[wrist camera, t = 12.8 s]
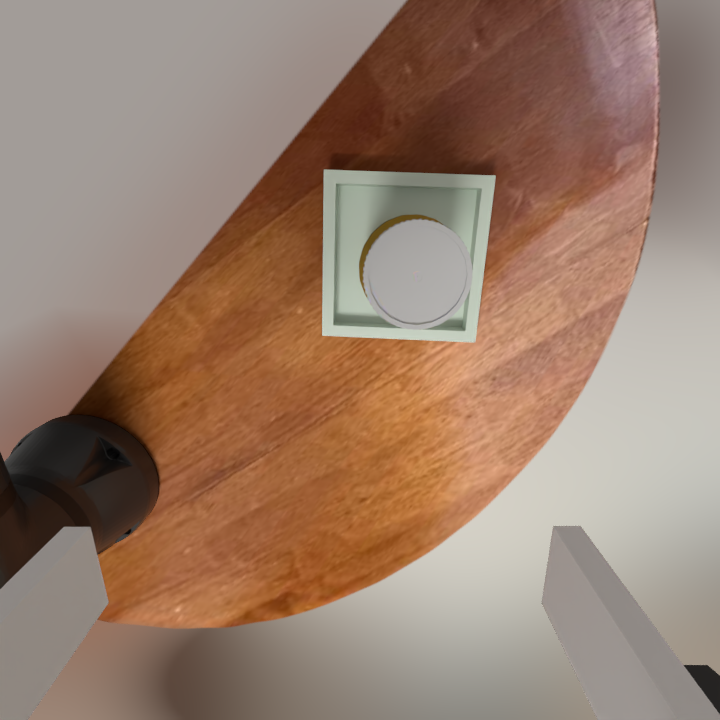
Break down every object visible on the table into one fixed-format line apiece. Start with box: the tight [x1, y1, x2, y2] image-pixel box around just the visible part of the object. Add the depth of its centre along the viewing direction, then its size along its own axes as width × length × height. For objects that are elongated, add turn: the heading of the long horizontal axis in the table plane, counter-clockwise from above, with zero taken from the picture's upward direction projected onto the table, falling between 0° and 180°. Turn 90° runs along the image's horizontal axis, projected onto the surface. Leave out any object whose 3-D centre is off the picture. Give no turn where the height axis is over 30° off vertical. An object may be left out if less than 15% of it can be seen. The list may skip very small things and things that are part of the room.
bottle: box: [359, 214, 473, 330], centre depth 30 cm, size 7×7×15 cm
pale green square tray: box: [322, 170, 496, 342], centre depth 37 cm, size 14×14×2 cm
